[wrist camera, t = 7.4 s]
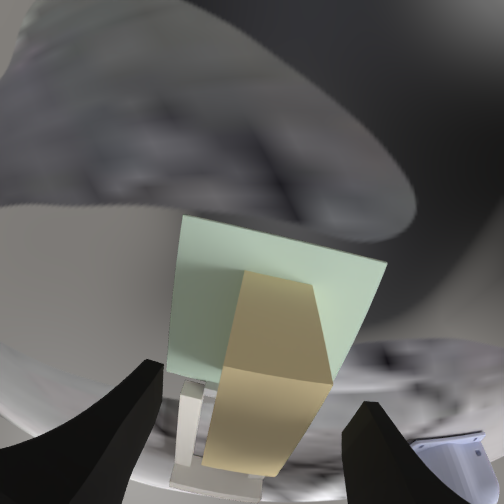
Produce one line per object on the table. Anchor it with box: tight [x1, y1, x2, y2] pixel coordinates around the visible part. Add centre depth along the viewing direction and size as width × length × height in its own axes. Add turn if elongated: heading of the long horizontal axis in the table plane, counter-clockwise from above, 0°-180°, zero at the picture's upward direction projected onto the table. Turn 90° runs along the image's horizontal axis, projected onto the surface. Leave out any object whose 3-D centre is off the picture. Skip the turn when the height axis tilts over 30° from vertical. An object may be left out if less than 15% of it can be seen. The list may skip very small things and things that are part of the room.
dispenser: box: [169, 380, 265, 503], centre depth 16 cm, size 7×11×3 cm, turn 168°
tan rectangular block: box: [201, 270, 333, 477], centre depth 11 cm, size 3×6×6 cm, turn 168°
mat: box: [166, 214, 387, 383], centre depth 14 cm, size 9×9×1 cm
